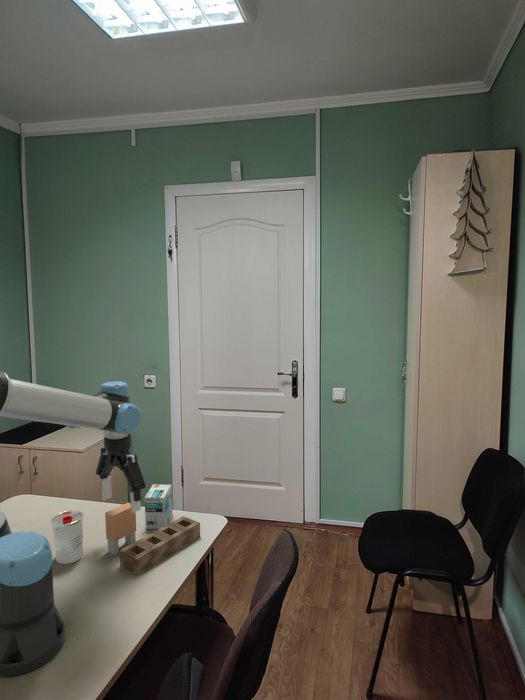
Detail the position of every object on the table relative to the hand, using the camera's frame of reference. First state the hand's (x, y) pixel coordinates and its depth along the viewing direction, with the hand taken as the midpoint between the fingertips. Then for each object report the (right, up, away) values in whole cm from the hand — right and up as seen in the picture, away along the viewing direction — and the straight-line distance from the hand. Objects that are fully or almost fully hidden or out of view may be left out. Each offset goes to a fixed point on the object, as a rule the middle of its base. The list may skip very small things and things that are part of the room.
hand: (121, 504), depth 132 cm
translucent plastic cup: (-14, -14, -4) cm, 20 cm away
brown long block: (+12, -13, 0) cm, 18 cm away
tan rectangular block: (0, -13, +1) cm, 13 cm away
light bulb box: (+7, -12, +17) cm, 22 cm away
